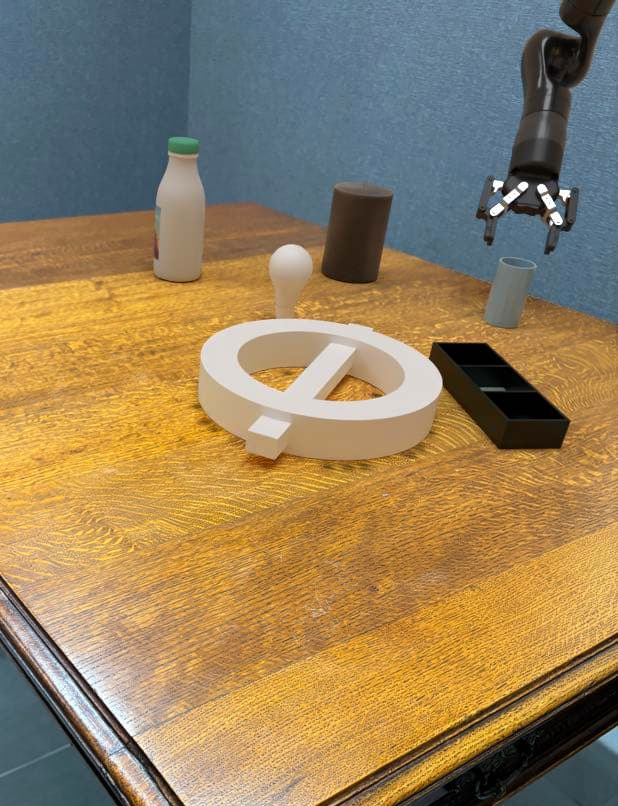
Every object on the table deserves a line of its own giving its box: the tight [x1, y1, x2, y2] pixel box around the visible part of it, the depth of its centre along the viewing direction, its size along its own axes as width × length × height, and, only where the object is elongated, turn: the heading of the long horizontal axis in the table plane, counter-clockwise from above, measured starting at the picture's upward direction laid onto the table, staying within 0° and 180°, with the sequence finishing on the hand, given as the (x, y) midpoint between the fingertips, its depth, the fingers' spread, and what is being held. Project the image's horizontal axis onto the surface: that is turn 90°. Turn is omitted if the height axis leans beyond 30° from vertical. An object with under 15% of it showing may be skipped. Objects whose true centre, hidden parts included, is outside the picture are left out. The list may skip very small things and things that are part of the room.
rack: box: [428, 341, 572, 450], centre depth 99 cm, size 8×22×4 cm, turn 9°
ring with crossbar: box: [197, 318, 443, 461], centre depth 96 cm, size 28×28×5 cm
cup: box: [482, 256, 538, 329], centre depth 122 cm, size 5×5×9 cm
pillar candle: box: [320, 179, 394, 284], centre depth 134 cm, size 10×10×15 cm
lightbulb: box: [268, 243, 314, 319], centre depth 114 cm, size 6×6×11 cm
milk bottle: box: [152, 136, 206, 283], centre depth 125 cm, size 8×8×20 cm
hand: (518, 247), depth 123 cm, fingers open, 8 cm apart
